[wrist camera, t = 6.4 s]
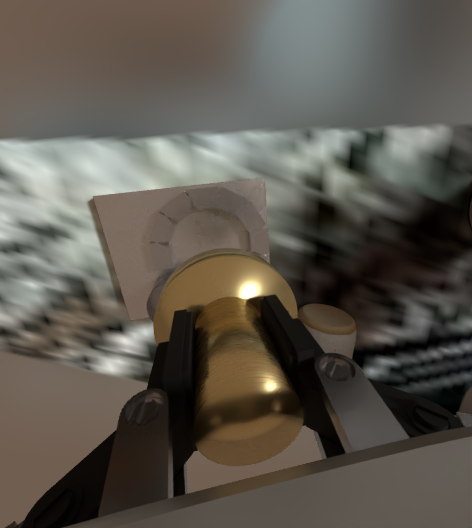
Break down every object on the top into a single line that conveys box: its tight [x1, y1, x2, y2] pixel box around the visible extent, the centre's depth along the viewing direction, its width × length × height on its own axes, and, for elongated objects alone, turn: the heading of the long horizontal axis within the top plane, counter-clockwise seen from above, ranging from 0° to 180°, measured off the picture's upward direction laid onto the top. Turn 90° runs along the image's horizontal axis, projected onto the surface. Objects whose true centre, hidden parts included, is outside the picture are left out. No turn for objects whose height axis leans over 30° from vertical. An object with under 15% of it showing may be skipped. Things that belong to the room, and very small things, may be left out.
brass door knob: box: [154, 248, 304, 466], centre depth 10 cm, size 7×7×7 cm
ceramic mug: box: [297, 304, 357, 359], centre depth 29 cm, size 11×8×8 cm
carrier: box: [93, 178, 270, 322], centre depth 24 cm, size 17×14×5 cm
